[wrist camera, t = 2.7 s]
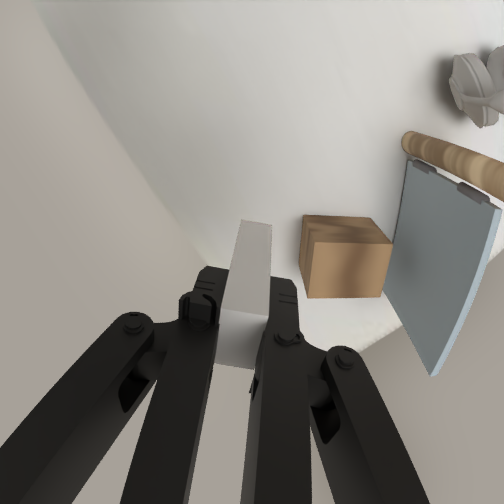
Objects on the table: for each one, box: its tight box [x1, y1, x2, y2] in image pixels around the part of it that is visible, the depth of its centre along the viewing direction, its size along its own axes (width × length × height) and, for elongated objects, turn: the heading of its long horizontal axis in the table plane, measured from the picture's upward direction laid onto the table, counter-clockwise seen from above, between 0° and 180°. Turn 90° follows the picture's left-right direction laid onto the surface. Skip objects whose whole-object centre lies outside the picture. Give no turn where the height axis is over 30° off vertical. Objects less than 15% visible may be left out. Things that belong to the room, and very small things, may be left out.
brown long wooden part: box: [402, 131, 504, 202], centre depth 25 cm, size 8×3×22 cm, turn 89°
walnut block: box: [299, 215, 393, 298], centre depth 38 cm, size 9×7×8 cm
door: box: [383, 159, 502, 376], centre depth 32 cm, size 4×20×18 cm, turn 179°
